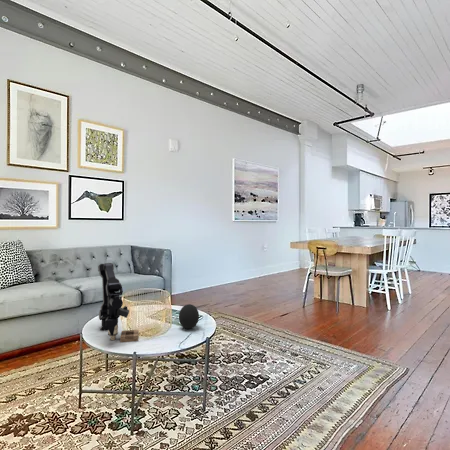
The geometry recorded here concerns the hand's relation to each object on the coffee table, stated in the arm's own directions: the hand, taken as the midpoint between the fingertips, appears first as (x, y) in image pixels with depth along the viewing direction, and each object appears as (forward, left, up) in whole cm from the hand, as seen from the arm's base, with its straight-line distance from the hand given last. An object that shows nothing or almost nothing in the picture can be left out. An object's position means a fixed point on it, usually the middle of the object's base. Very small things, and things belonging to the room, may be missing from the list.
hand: (113, 332), depth 181 cm
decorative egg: (-9, +44, -4) cm, 45 cm away
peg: (0, 0, -4) cm, 4 cm away
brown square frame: (+1, +9, -4) cm, 10 cm away
